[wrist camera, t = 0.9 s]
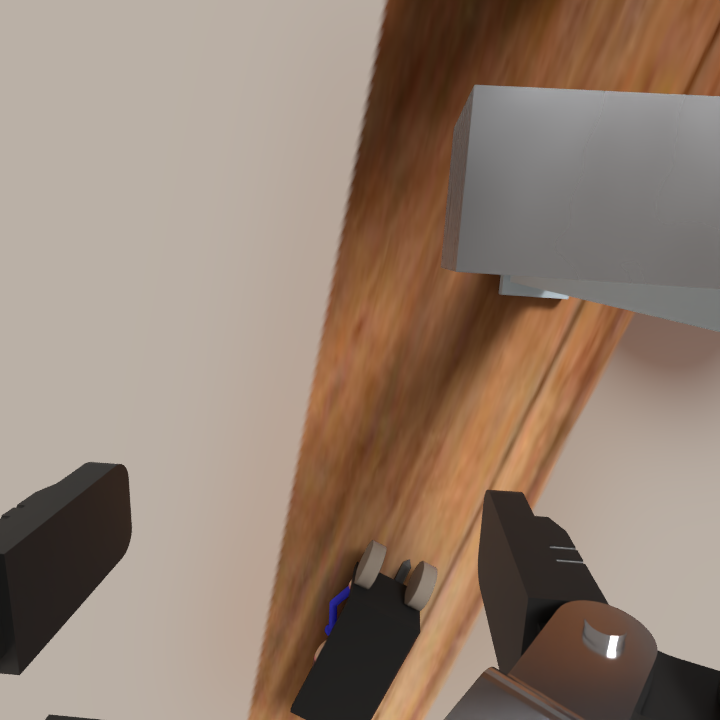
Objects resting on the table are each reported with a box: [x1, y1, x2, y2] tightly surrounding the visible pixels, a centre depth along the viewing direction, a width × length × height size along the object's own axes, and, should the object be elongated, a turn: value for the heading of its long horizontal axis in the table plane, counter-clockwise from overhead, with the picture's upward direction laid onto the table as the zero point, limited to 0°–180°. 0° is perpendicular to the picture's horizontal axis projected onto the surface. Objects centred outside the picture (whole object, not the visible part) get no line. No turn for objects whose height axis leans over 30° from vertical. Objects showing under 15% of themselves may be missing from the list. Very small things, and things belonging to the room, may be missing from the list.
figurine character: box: [290, 540, 437, 720], centre depth 44 cm, size 7×8×15 cm
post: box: [499, 275, 720, 332], centre depth 24 cm, size 7×5×32 cm
